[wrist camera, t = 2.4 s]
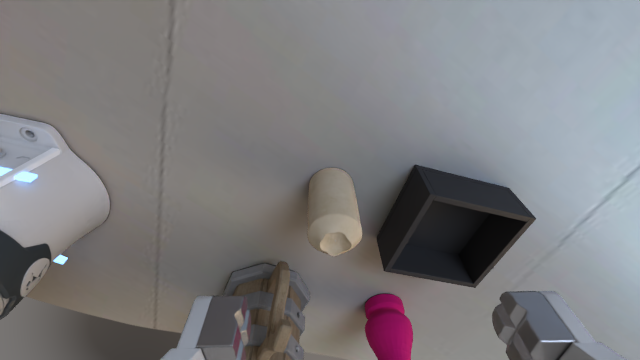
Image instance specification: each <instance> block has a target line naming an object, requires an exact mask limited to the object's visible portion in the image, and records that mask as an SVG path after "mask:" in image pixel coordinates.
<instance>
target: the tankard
mask: <svg viewBox="0 0 640 360" xmlns="http://www.w3.org/2000/svg"><path fill="white" fill-rule="evenodd" d="M223 296H247V300H248V306H247V309H248V310H250V313H251V333H250V339H249V342H248V343H247V344H246V346H245V347H244V348H245V352H246V360H304V350H303V348H302V347H301V346H300V345H299V337H300V336H301V334H302V333H303V331H304V330H305V316H304V315H303V314H302V311H303V309H304V308H305V306H306V305H307V304H308V302H309V301H310V292H309V290H308V289H307V287H306V286H305V284H304V282H303V281H302V279H301V278H300V276H299V275H298V273H297V272H294V271H290V270H289V267H288V264H287V263H286V262H282V261H280V262H279V263H278V264H277V266H272V265H268V264H265V263H264V264H260V265H257V266H253V267H249V268H246V269H242V270H239V271H235V272H232V275H231V277H230V279H229V282H228V284H227V286H226V288H225V291H224V293H223Z"/></svg>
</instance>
